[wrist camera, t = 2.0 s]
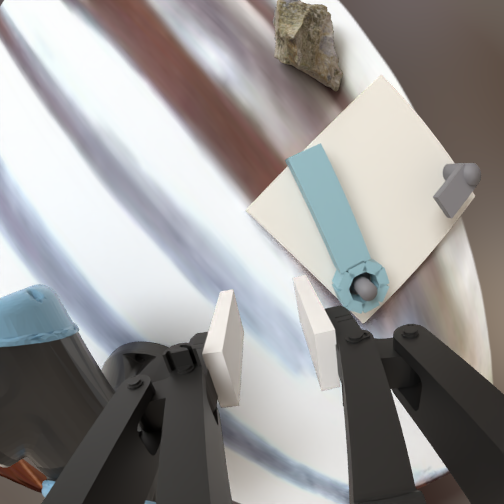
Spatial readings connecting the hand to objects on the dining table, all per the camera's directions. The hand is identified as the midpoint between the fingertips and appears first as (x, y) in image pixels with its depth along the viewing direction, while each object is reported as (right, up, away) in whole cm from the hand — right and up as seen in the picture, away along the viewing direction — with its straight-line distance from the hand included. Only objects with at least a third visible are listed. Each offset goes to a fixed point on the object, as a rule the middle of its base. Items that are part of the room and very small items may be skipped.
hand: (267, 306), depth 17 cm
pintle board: (+13, +9, +15) cm, 22 cm away
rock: (+5, +26, +11) cm, 29 cm away
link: (+8, +5, +14) cm, 17 cm away
